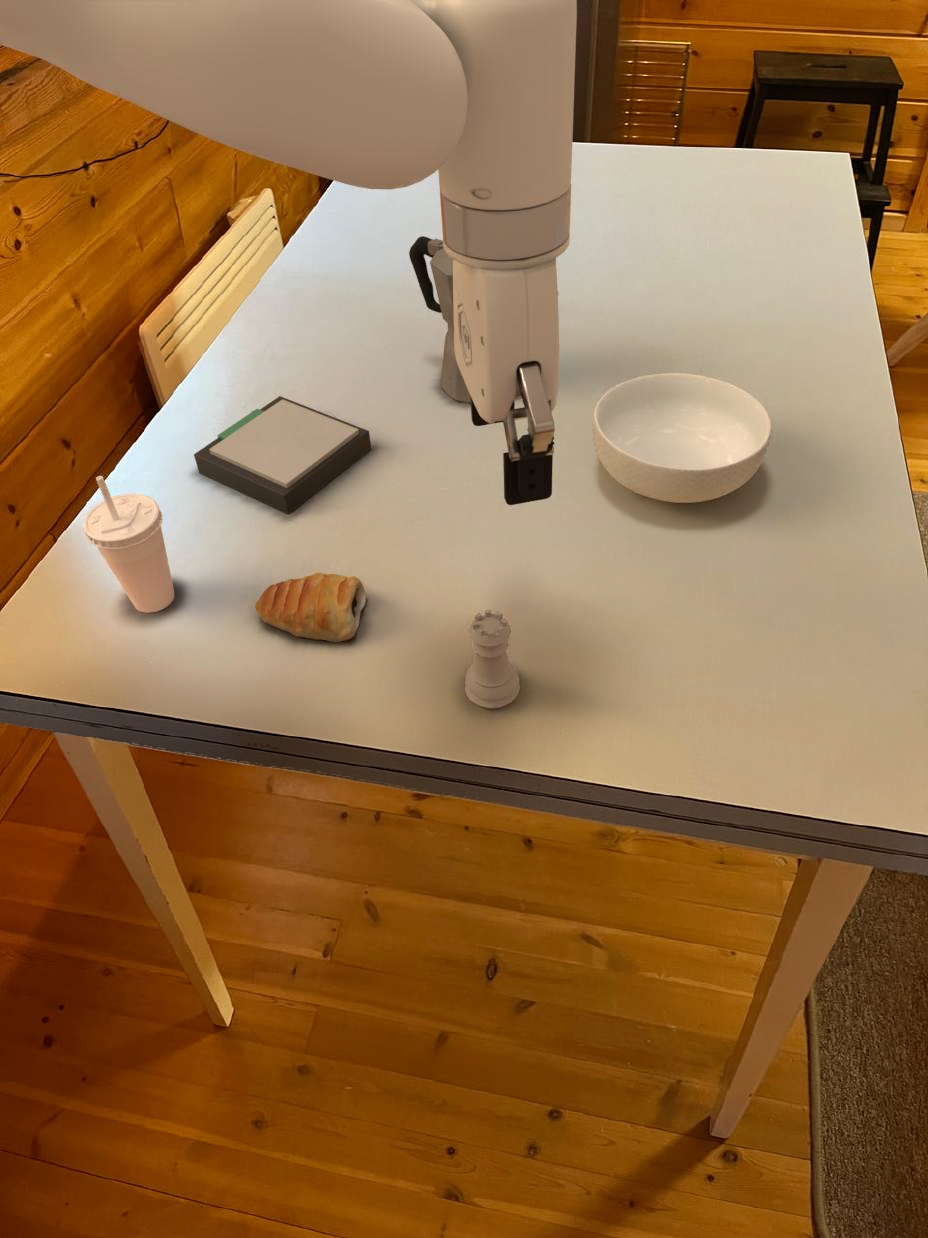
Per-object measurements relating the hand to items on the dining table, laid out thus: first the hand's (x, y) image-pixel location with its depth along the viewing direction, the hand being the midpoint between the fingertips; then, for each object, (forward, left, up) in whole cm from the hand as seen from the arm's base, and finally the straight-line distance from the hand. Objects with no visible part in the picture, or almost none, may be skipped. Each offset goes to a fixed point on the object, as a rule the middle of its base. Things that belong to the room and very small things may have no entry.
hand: (509, 458), depth 66 cm
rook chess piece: (+1, -6, -18) cm, 20 cm away
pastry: (-16, -5, -18) cm, 25 cm away
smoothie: (-32, -10, -18) cm, 38 cm away
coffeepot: (-22, +35, -18) cm, 45 cm away
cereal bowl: (+5, +27, -18) cm, 33 cm away
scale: (-33, +13, -18) cm, 40 cm away
